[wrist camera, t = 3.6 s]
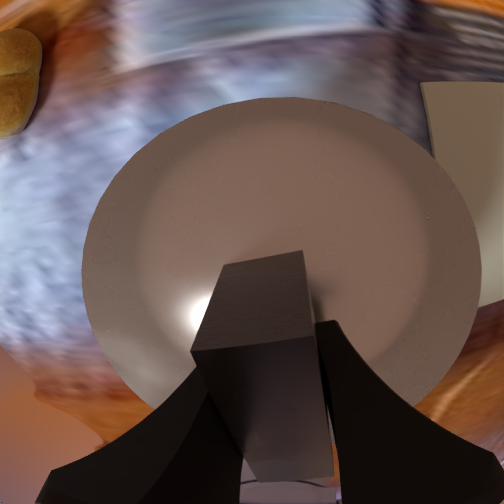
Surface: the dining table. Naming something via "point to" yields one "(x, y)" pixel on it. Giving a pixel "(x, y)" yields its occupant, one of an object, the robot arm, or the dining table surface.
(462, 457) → the robot arm
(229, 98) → the dining table surface
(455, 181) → the mat
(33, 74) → the bread roll
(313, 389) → the lid
